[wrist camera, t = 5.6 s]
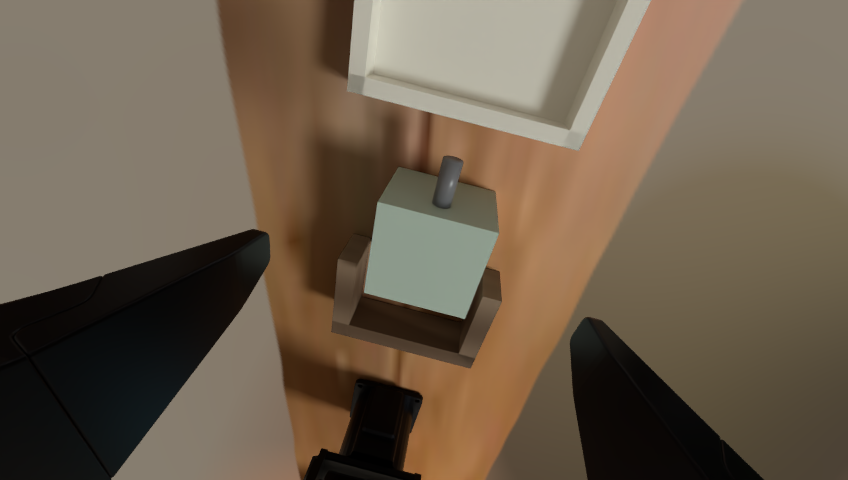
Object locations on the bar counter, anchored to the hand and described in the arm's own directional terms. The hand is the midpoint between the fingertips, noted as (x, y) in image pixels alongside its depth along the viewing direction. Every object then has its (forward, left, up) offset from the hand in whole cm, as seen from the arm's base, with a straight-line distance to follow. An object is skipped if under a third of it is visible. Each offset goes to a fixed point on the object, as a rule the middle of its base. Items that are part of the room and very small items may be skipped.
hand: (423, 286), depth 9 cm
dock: (-11, 0, -12) cm, 16 cm away
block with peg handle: (-3, 0, -12) cm, 12 cm away
